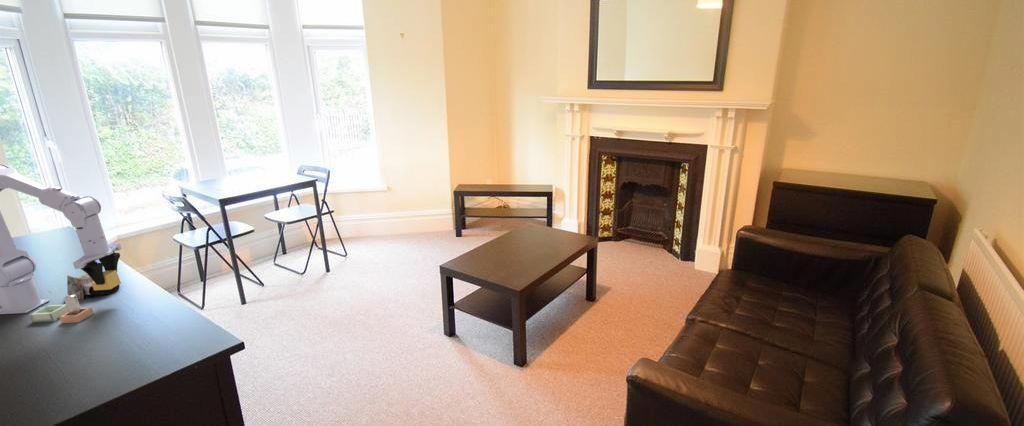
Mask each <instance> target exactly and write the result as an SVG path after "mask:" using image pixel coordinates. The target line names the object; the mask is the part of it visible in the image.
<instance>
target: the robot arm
mask: <svg viewBox="0 0 1024 426" xmlns="http://www.w3.org/2000/svg"><path fill="white" fill-rule="evenodd" d="M5 189H10V190H13V191H17V192H20V193H21V194H22V193H23V194H25V195H28V196H32V197H34V198H38V201H39V203H40V204H41V205H44V206H45V207H49V208H50V209H52V210H53V209H54V210H55V211H57V212H58V211H59V212H61V213H63V216H64V217H65V218H66V219H67V220H68V221H69V222H70V223H71V226H72V227H74V228H75V232H76V235H77V238H78V241H79V243H80V246H81V249H82V252H83V255H81V257H80V258H78V259H77V260H75V261H74V262H72V264H73V268H74V270H77V269H80V270H81V271H83V272H84V273H86V274H88V275H89V276H90V277H91V278H92V279H93V281H94V282H95V283H96V285H103V284H105V279H104V275H103V272H104V271H108V270H116V271H117V272H118V263H119V260H120V257H121V254H120V252H116V251H120V250H122V247H121V243H112V244H108V241H107V238H106V235H105V232H104V228H103V226H102V223H101V219H100V216H99V214H100V213H101V211H102V205H101V203H100V202H99V200H98V199H96V198H94V197H92V196H90V195H87V196H81V195H80V196H79V195H78V194H74V193H72V192H70V191H67V190H64V189H63V188H62V187H61V186H58V185H57V186H55V185H54V186H49V187H46V186H45V185H42V184H41V183H38V182H36V181H34V180H32V179H30V178H28V177H26V176H25V175H22V174H20V173H19V171H18V170H17V169H16V168H14V167H11V166H9V165H8V164H4V163H0V193H1V192H2V191H3V190H5ZM97 260H98V261H99V262H98V261H97ZM36 265H37V264H36V263H35V261H34V260H33V259H32V258H31V256H29V253H28V251H27V250H23V249H19V248H17V246H16V244H15V241H14V239H13V237H12V236H11V233H10V230H9V228H8V225H7V223H6V220H5V219H4V216H3V214H2V212H1V210H0V315H9V314H11V315H12V314H13V315H14V314H27V313H30V312H31V311H32V310H35V309H37V308H38V307H40V306H43V305H44V304H46V303H48V302H50V301H51V299H49V298H44V299H42V298H41V296H40V294H39V291H38V288H37V286H36V283H35V281H34V279H33V277H34V276H35V274H34V272H35V271H36V270H37V269H36V268H37V266H36ZM103 268H104V271H103Z"/></svg>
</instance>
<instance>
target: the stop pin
mask: <svg viewBox="0 0 1024 426" xmlns="http://www.w3.org/2000/svg"><path fill="white" fill-rule="evenodd" d="M63 300H64V302H65V304H66V305H67V308H68V310H69V313H70V315H77V314H79V313H81V312H82V310H81V308H82V307H81V305H80V301H79V299H78V298H77V296H76V295H75V294H73V295H66V296H65V297H63Z"/></svg>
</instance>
